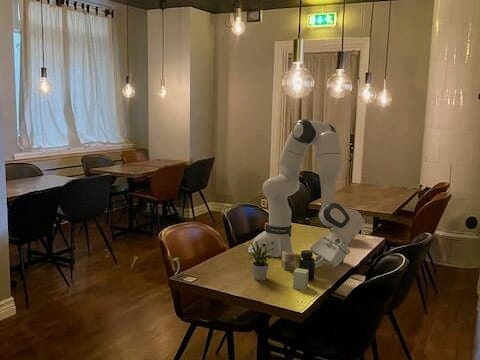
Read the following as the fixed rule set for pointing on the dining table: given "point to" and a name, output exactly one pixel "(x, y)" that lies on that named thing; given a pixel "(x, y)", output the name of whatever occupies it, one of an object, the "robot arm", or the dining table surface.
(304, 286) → the sage block
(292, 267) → the oak block
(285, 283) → the dining table surface
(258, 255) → the house plant
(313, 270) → the supplement bottle
